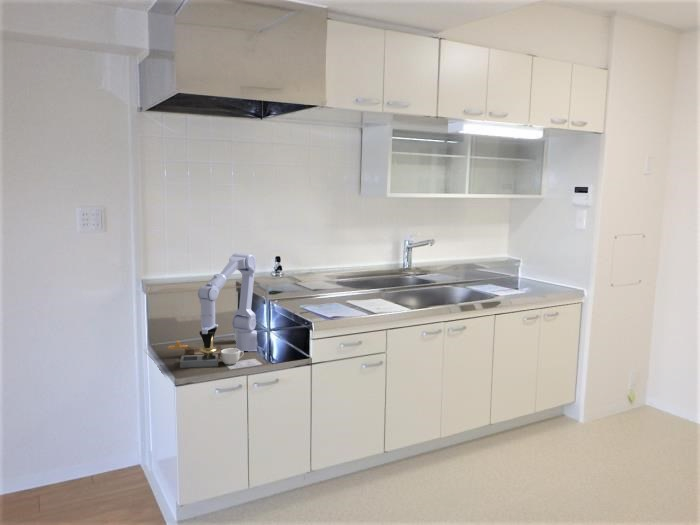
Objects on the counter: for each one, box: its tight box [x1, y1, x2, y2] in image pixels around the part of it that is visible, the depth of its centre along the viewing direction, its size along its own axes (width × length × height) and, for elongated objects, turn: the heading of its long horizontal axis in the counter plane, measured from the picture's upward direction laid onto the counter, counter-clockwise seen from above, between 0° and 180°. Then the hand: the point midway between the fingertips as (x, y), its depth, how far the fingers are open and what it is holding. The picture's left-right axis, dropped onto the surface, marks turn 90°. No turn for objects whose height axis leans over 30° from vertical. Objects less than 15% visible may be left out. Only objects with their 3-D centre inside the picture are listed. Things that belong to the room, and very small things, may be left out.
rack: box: [179, 354, 219, 369], centre depth 241 cm, size 15×8×2 cm, turn 102°
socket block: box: [184, 345, 222, 360], centre depth 252 cm, size 15×11×4 cm
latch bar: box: [167, 340, 189, 350], centre depth 249 cm, size 8×2×3 cm, turn 102°
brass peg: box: [200, 336, 217, 358], centre depth 241 cm, size 7×7×9 cm
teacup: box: [220, 347, 245, 365], centre depth 243 cm, size 10×8×5 cm
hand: (208, 346), depth 241 cm, fingers closed on brass peg, 4 cm apart
